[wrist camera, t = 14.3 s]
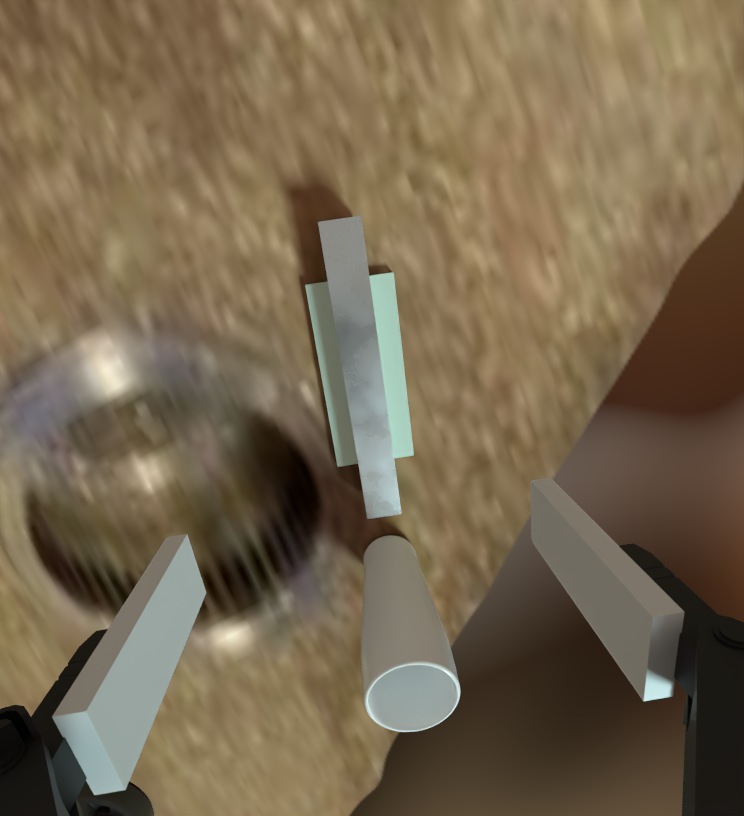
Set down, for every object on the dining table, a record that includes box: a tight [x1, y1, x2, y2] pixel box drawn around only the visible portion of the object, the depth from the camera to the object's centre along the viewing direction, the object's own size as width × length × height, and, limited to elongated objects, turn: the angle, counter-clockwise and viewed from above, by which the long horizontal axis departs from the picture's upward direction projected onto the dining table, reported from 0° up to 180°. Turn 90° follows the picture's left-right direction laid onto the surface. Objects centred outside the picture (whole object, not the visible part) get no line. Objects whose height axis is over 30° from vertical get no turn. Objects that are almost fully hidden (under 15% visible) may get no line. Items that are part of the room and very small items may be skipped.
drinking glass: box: [361, 535, 460, 732], centre depth 36 cm, size 7×7×15 cm
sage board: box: [305, 272, 414, 467], centre depth 36 cm, size 16×7×1 cm, turn 7°
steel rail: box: [318, 216, 401, 519], centre depth 34 cm, size 24×3×3 cm, turn 8°
